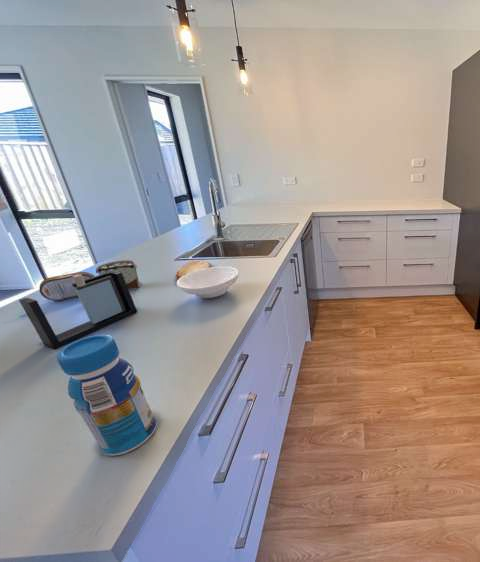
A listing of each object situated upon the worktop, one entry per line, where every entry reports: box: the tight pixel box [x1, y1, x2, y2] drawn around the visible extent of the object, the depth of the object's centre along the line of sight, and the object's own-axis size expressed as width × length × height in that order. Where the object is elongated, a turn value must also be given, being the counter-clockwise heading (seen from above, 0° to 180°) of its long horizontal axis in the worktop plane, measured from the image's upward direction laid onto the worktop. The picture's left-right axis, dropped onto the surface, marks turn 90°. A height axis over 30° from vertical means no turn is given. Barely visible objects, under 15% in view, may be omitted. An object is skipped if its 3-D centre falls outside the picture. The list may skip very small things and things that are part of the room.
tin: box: [39, 271, 96, 301], centre depth 107 cm, size 15×3×8 cm, turn 130°
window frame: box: [18, 270, 138, 350], centre depth 86 cm, size 21×5×14 cm, turn 158°
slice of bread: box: [175, 260, 212, 281], centre depth 126 cm, size 18×18×4 cm
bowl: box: [176, 266, 239, 299], centre depth 107 cm, size 20×20×7 cm
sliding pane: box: [73, 275, 126, 324], centre depth 88 cm, size 9×2×15 cm, turn 158°
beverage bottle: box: [56, 334, 158, 456], centre depth 50 cm, size 8×8×20 cm
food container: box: [95, 259, 141, 291], centre depth 113 cm, size 12×6×10 cm, turn 111°
